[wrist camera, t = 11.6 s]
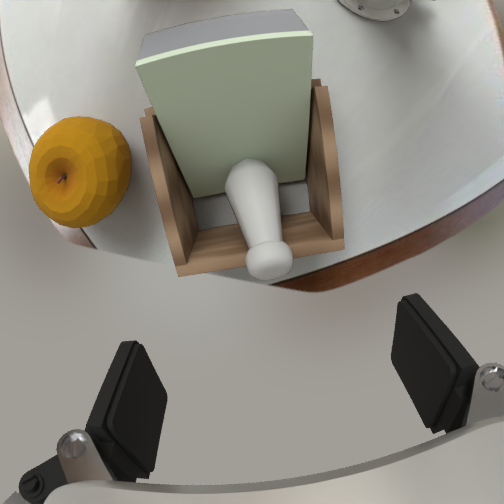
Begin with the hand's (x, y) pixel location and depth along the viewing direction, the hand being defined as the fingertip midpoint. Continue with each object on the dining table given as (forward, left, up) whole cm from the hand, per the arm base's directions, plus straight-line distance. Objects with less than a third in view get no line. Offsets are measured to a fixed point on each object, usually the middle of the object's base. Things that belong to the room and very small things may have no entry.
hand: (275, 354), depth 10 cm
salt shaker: (0, -2, -27) cm, 27 cm away
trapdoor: (0, -12, -27) cm, 30 cm away
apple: (+19, -7, -30) cm, 36 cm away
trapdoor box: (0, -3, -30) cm, 30 cm away
